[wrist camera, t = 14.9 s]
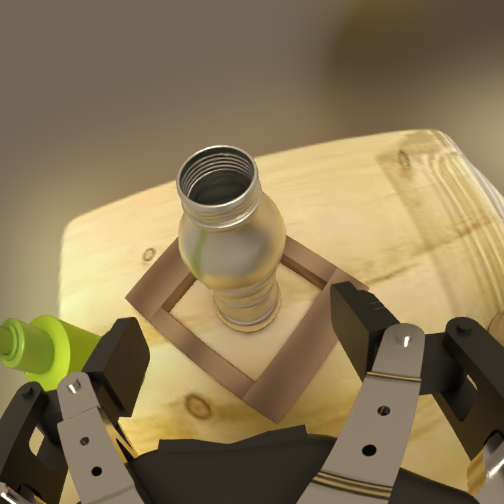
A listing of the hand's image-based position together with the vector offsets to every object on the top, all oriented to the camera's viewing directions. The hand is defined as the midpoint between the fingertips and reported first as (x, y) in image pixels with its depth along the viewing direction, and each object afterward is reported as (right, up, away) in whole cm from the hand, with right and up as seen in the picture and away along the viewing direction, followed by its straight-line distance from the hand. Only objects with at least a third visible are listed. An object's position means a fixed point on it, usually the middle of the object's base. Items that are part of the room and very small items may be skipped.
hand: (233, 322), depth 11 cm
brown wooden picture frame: (0, -3, +19) cm, 19 cm away
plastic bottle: (0, -3, +19) cm, 19 cm away
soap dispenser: (-14, -10, +16) cm, 23 cm away
